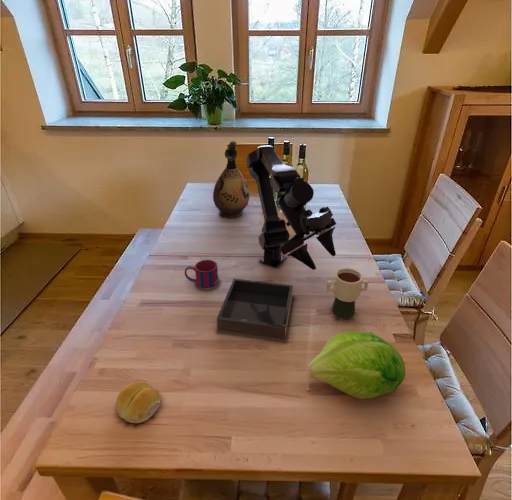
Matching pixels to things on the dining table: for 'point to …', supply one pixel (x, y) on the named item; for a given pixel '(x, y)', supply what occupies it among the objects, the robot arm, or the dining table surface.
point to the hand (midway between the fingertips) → (324, 262)
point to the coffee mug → (346, 291)
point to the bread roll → (137, 402)
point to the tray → (256, 309)
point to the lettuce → (359, 365)
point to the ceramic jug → (231, 187)
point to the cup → (205, 273)
